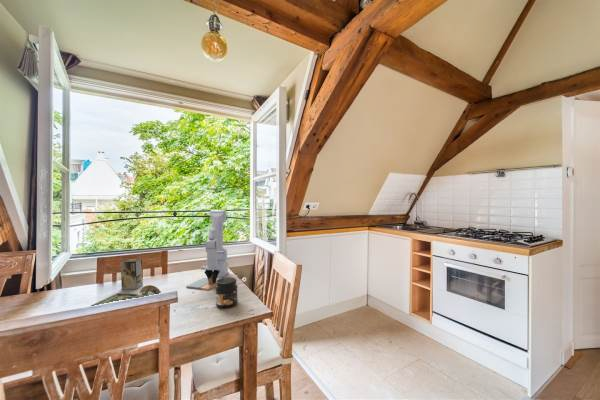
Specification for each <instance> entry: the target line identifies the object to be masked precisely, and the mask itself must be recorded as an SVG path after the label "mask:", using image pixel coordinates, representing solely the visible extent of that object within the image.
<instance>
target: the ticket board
mask: <svg viewBox="0 0 600 400" xmlns="http://www.w3.org/2000/svg"><path fill="white" fill-rule="evenodd" d="M208 283H209V281H208V278H207V277H202V278H201V279H198V280H196V281H194V282H192V283H189V284H188V285H186V289H193V290H201V289H200V287H202V286H204V285H206V284H208Z"/></svg>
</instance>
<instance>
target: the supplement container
mask: <svg viewBox="0 0 600 400" xmlns="http://www.w3.org/2000/svg"><path fill="white" fill-rule="evenodd" d="M238 287H239V286H238V284H237V278H235V277H231V276H230V277H229V276H227V277H220V278H219V280H217V281H216V286H215V287H214V289H215V290H214V291H215V306H216V307H217V308H219V309H229V308H233V307H234V306H236V305H237V304H238V302H239V299H238V296H239V295H238Z"/></svg>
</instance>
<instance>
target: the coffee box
mask: <svg viewBox="0 0 600 400" xmlns="http://www.w3.org/2000/svg"><path fill="white" fill-rule="evenodd" d="M120 280H121V290H133V289H135V290H137V289H139V288H141V287H143V282H144V281H143V259H142V258H131V259H130V258H129V259H125V260H123V261H120Z"/></svg>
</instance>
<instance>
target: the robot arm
mask: <svg viewBox="0 0 600 400" xmlns="http://www.w3.org/2000/svg"><path fill="white" fill-rule="evenodd" d="M209 219H210V220H211V229H209V231H208V236H207V240H206V241H205V245H204V246H205V252H206V265H202V266H200V271H203V270H204V274H205V276H206V278H209V277H211V276H212V277H213V283H215V282H216V280H217V279H218V278H223V277H224V276H226V275H229V273H230V272H229V267H228V266H229V265H228V262H227V261H228V251H227V249H226V248H225V247H224V243H223V242H224V241H223V240H224V224H225V223H226V222H227V210H226V209H217V210H216V209H211V210H210V211H209ZM208 281H209V280H208Z"/></svg>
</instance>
